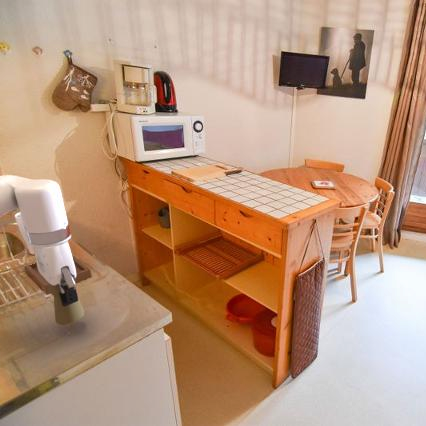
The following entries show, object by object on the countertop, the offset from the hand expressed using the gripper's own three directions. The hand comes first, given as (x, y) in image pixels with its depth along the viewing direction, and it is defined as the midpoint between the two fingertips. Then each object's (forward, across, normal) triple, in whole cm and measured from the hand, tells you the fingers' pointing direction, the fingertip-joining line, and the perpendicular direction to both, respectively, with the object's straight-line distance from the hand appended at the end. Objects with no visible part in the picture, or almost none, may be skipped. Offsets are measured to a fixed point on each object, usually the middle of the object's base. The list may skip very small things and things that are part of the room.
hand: (65, 297), depth 79 cm
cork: (+6, 0, 0) cm, 6 cm away
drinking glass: (+11, -51, +8) cm, 53 cm away
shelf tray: (+11, -30, +7) cm, 33 cm away
